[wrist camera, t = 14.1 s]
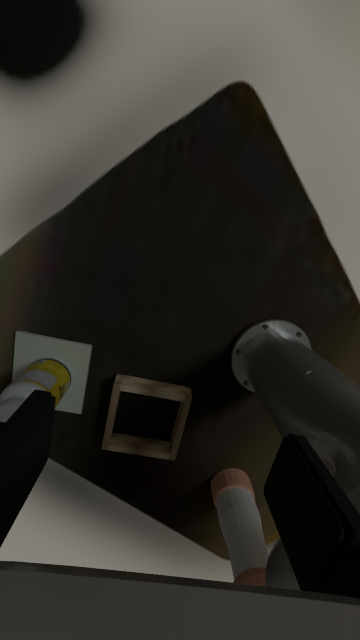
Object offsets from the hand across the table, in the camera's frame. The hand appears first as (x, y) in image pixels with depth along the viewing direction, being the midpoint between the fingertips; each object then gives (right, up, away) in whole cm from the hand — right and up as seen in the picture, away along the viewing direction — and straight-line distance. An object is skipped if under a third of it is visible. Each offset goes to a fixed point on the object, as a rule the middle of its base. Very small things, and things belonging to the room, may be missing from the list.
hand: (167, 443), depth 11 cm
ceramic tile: (-20, -3, +32) cm, 37 cm away
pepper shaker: (+10, -25, +40) cm, 48 cm away
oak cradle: (-5, -10, +34) cm, 36 cm away
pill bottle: (-19, -4, +31) cm, 37 cm away
